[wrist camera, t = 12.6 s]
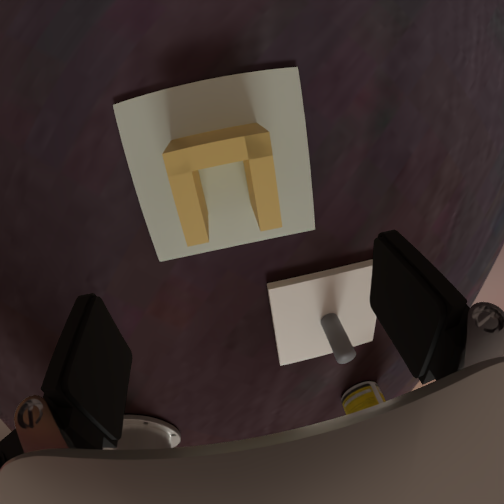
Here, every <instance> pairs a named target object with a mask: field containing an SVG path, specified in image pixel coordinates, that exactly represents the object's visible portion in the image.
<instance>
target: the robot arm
mask: <svg viewBox="0 0 504 504" xmlns="http://www.w3.org/2000/svg"><path fill="white" fill-rule="evenodd" d="M466 303H467V300H466V299H465V298H464V297H463V295H462V294H461V293H460V292H459V291H458V290H457V289H456V288H455V287H454V286H453V285H452V284H451V283H450V282H449V281H448V280H447V279H446V278H445V277H444V276H443V275H442V274H441V273H440V272H439V271H438V270H437V269H436V268H435V267H434V266H433V265H432V264H431V263H430V262H429V261H428V260H427V259H426V258H425V257H424V256H423V255H422V254H421V253H420V252H419V251H418V250H417V249H416V248H415V247H414V246H413V245H412V244H411V243H409V242H408V241H407V240H406V239H405V238H404V237H403V236H402V235H401V234H400V233H399V232H398V231H396V230H391V231H386V232H382V233H379V235H378V238H376V239H375V240H374V250H373V265H372V278H371V289H370V306H371V308H372V310H373V312H374V313H375V315H376V316H377V318H378V320H379V321H380V323H381V324H382V326H383V327H384V329H385V331H386V332H387V334H388V335H389V337H390V339H391V340H392V342H393V344H394V345H395V347H396V348H397V350H398V352H399V353H400V355H401V357H402V358H403V360H404V362H405V363H406V365H407V367H408V368H409V370H410V372H411V373H412V375H413V376H414V377H415V378H419V380H420V381H421V383H422V384H425V383H427V382H430V381H432V380H434V379H436V381H435V382H433V383H430V384H428V385H426V386H423V387H421V388H418V389H416V390H414V391H411V392H409V393H406V394H404V395H401V396H399V397H396V398H394V399H391V400H388V401H386V402H383V403H380V404H378V405H375V406H372V407H369V408H366V409H363V410H360V411H357V412H354V413H351V414H348V415H345V416H341V417H338V418H335V419H331V420H328V421H324V422H321V423H317V424H313V425H309V426H305V427H301V428H297V429H293V430H289V431H285V432H280V433H275V434H270V435H265V436H260V437H255V438H249V439H244V440H237V441H231V442H224V443H216V444H208V445H200V446H190V447H178V448H173V447H175V446H177V445H178V444H179V443H180V437H181V435H180V432H179V431H178V429H177V428H175V427H174V426H173V425H171V424H169V423H167V422H165V421H163V420H160V419H157V418H153V417H149V416H143V415H124V411H125V403H126V396H127V389H128V382H129V376H130V370H131V363H132V353H131V350H130V348H129V347H128V345H127V343H126V342H125V340H124V338H123V337H122V335H121V333H120V331H119V330H118V328H117V326H116V324H115V323H114V321H113V319H112V317H111V315H110V314H109V312H108V310H107V308H106V306H105V304H104V302H103V301H102V299H101V298H100V297H97V296H96V295H95V294H93V293H91V294H86V295H81V296H78V298H77V299H76V302H75V304H74V306H73V308H72V310H71V313H70V315H69V317H68V319H67V322H66V324H65V326H64V329H63V331H62V334H61V336H60V338H59V341H58V343H57V346H56V348H55V351H54V354H53V356H52V359H51V361H50V364H49V367H48V370H47V372H46V375H45V378H44V381H43V384H42V387H41V390H42V391H43V392H44V396H43V398H42V397H41V396H39V395H32V396H29V397H27V398H25V399H24V400H23V401H22V402H21V403H20V404H19V405H18V407H17V409H16V411H15V414H14V424H15V427H16V429H14V430H13V431H12V432H11V433H10V434H9V435H7V436H6V437H5V438H4V439H3V440H2V441H0V504H504V312H503V311H502V310H501V309H500V308H499V307H497V306H496V305H494V304H491V303H486V302H480V303H476V304H474V305H472V306H471V308H469V307H468V306H467V304H466ZM102 447H103V448H104V450H102Z"/></svg>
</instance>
